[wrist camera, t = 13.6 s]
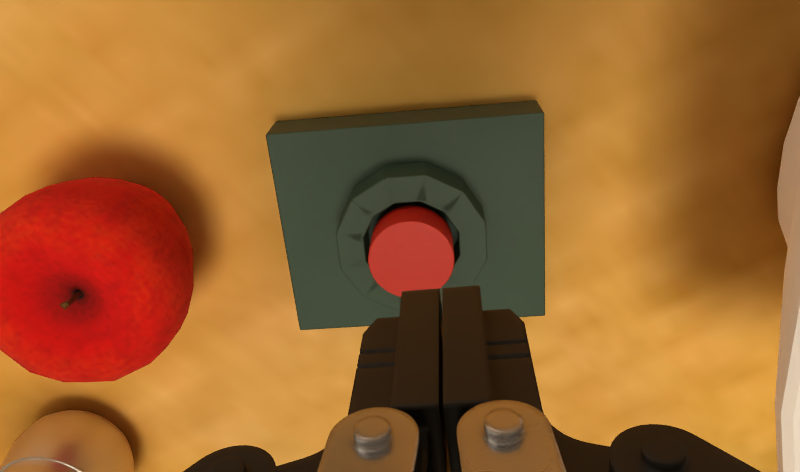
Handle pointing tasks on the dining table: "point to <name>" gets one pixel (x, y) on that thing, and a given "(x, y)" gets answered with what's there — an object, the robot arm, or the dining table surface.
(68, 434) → the plastic bottle
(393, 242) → the button
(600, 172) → the dining table surface
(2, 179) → the dining table surface
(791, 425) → the bowl
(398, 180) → the dark grey base plate
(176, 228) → the apple
